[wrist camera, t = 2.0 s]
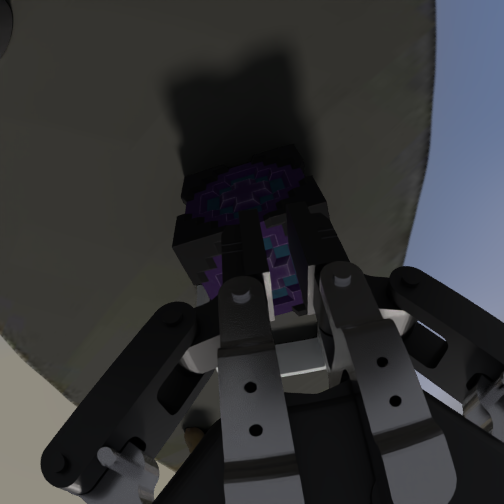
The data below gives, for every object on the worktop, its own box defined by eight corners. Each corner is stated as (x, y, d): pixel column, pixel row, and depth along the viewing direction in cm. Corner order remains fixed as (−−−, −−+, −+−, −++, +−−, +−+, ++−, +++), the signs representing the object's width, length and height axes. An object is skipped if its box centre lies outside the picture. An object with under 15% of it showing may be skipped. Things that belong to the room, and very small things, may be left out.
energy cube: (293, 143, 32) (326, 201, 23) (313, 231, 39) (341, 304, 30) (184, 177, 33) (171, 247, 24) (221, 257, 41) (224, 335, 32)
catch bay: (197, 285, 43) (196, 319, 39) (328, 265, 43) (340, 297, 39) (221, 355, 55) (223, 384, 50) (322, 339, 55) (330, 368, 50)
